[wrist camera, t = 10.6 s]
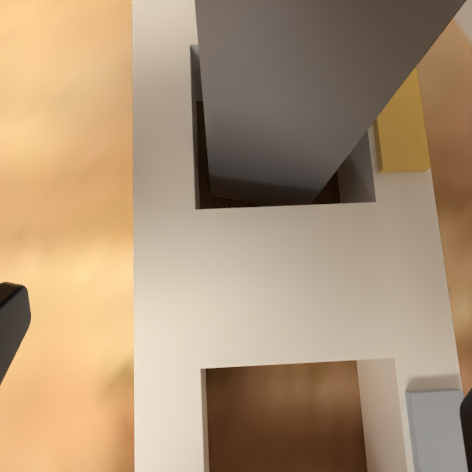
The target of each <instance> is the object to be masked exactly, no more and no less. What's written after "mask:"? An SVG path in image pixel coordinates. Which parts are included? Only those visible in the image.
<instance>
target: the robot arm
mask: <svg viewBox="0 0 472 472" xmlns="http://www.w3.org/2000/svg"><path fill="white" fill-rule="evenodd" d="M30 321H31V311H30V304H29V297H28V291H27V288H26V287H25V286H23V285H19V284H14V283H9V282H3V283H0V385H1V383H2V381H3V379H4V377H5V375H6V372H7V370H8V368H9V366H10V364H11V362H12V360H13V358H14V356H15V354H16V352H17V350H18V348H19V346H20V344H21V342H22V340H23V338H24V336H25V334H26V332H27V330H28V328H29V325H30ZM460 421H461V428H462V435H463V441H464V448H465V455H466V462H467V469H468V472H472V388H471V390H470V391H469V392H468V394H467V395H466V396H465V398H464V399H463V401H462V403H461V405H460Z"/></svg>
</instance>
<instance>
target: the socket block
mask: <svg viewBox="0 0 472 472" xmlns="http://www.w3.org/2000/svg"><path fill="white" fill-rule="evenodd" d="M132 48H133V241H134V433H135V472H209V447H208V419H207V391H206V368H223V367H241V366H258V365H276V364H294V363H312V362H330V361H348V360H356V361H357V371H358V381H359V391H360V401H361V411H362V421H363V431H364V441H365V451H366V461H367V471H368V472H468V469H467V462H466V455H465V448H464V441H463V435H462V428H461V421H460V405H461V403H462V401H463V399H464V394H463V390H462V383H461V376H460V369H459V362H458V355H457V348H456V341H455V334H454V327H453V320H452V313H451V306H450V299H449V292H448V285H447V278H446V271H445V264H444V257H443V250H442V243H441V236H440V229H439V222H438V216H437V209H436V202H435V195H434V188H433V181H432V174H431V164H430V157H429V150H428V143H427V136H426V129H425V122H424V116H423V109H422V102H421V95H420V88H419V81H418V74H417V67H415V68H414V70H413V71H412V72H411V74H410V75H409V76H408V77H407V79H406V80H405V81H404V83H403V84H402V85H401V87H400V88H399V89H398V91H397V92H396V93H395V95H394V96H393V97H392V98H391V100H390V101H389V102H388V104H387V105H386V106H385V108H384V109H383V110H382V112H381V113H380V114H379V115H378V117H377V118H376V119H375V121H374V122H373V123H372V125H371V126H370V127H369V129H368V130H367V131H366V133H365V134H364V135H363V136H362V138H361V139H360V140H359V142H358V143H357V144H356V146H355V147H354V148H353V150H352V151H351V152H350V153H349V155H348V156H347V157H346V159H345V160H344V161H343V163H342V164H341V165H340V167H339V168H338V169H337V172H338V182H339V192H340V202H341V204H319V205H294V206H269V207H245V208H220V209H200V194H199V166H198V138H197V110H196V101H203V94H202V82H201V71H200V59H199V47H198V35H197V23H196V11H195V0H132Z"/></svg>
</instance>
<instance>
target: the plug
mask: <svg viewBox="0 0 472 472" xmlns="http://www.w3.org/2000/svg"><path fill="white" fill-rule="evenodd" d="M465 1H466V0H195V11H196V23H197V35H198V47H199V59H200V71H201V82H202V94H203V106H204V118H205V130H206V142H207V154H208V166H209V178H210V190H211V195H214V196H219V197H223V198H228V199H233V200H237V201H242V202H247V203H252V204H256V205H261V206H266V207H269V206H294V205H311V203H312V202H313V201H314V199H315V198H316V197H317V195H318V194H319V193H320V191H321V190H322V189H323V188H324V186H325V185H326V184H327V182H328V181H329V180H330V178H331V177H332V176H333V174H334V173H335V172H336V171H337V169H338V168H339V167H340V165H341V164H342V163H343V161H344V160H345V159H346V157H347V156H348V155H349V153H350V152H351V151H352V150H353V148H354V147H355V146H356V144H357V143H358V142H359V140H360V139H361V138H362V136H363V135H364V134H365V133H366V131H367V130H368V129H369V127H370V126H371V125H372V123H373V122H374V121H375V119H376V118H377V117H378V115H379V114H380V113H381V112H382V110H383V109H384V108H385V106H386V105H387V104H388V102H389V101H390V100H391V98H392V97H393V96H394V95H395V93H396V92H397V91H398V89H399V88H400V87H401V85H402V84H403V83H404V81H405V80H406V79H407V77H408V76H409V75H410V74H411V72H412V71H413V70H414V68H415V67H416V66H417V64H418V63H419V62H420V60H421V59H422V58H423V56H424V55H425V54H426V53H427V51H428V50H429V49H430V47H431V46H432V45H433V43H434V42H435V41H436V39H437V38H438V37H439V36H440V34H441V33H442V32H443V30H444V29H445V28H446V26H447V25H448V24H449V22H450V21H451V20H452V18H453V17H454V16H455V15H456V13H457V12H458V11H459V9H460V8H461V7H462V5H463V4H464V2H465Z"/></svg>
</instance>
